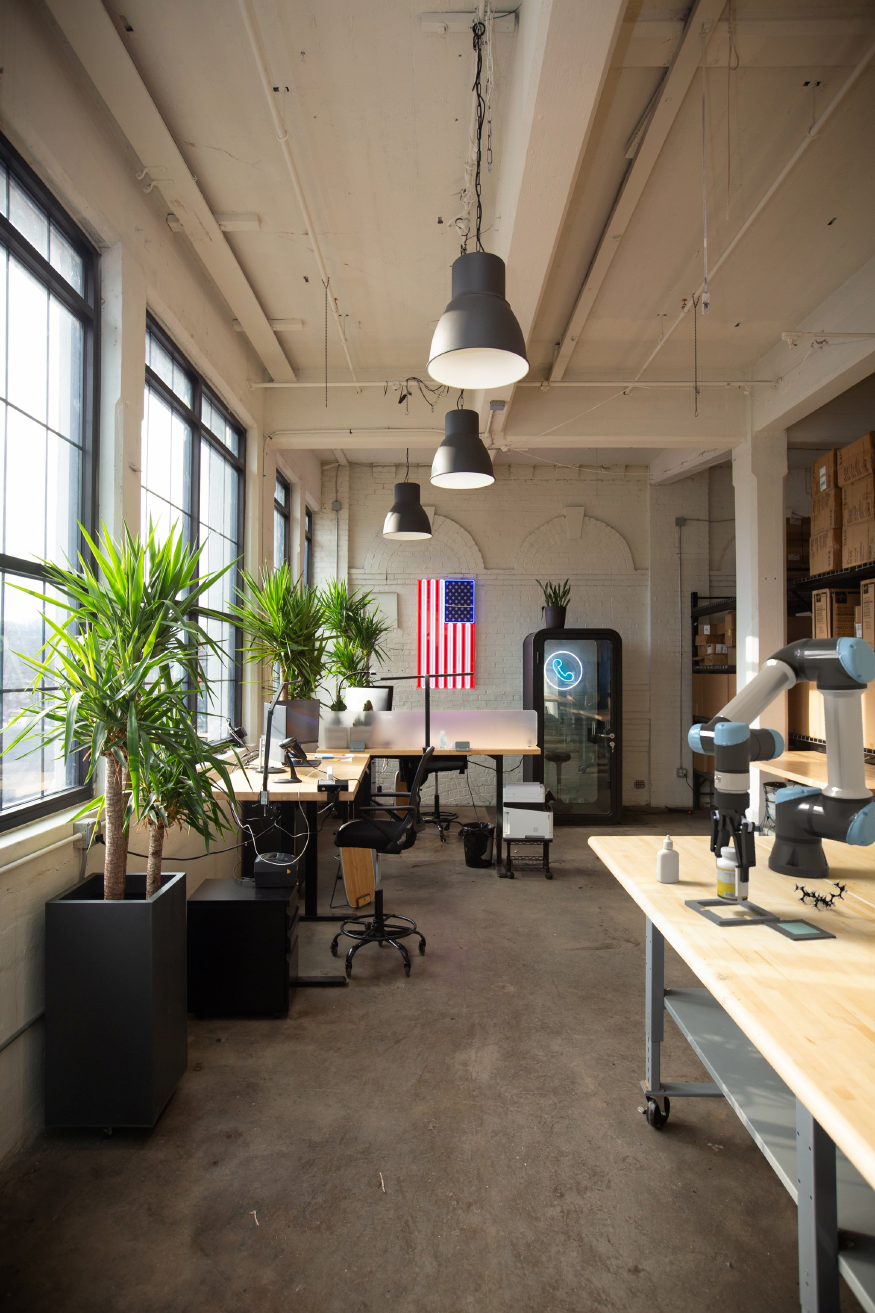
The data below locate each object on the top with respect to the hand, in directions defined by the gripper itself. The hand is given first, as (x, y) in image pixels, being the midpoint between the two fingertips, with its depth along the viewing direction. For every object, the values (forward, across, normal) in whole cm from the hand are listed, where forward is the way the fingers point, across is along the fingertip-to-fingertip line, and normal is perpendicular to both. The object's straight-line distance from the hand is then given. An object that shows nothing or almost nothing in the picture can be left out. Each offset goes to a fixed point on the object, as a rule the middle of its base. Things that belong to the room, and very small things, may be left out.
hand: (732, 890), depth 162 cm
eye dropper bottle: (+5, -24, -2) cm, 25 cm away
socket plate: (+5, 0, 0) cm, 5 cm away
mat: (+5, +12, +8) cm, 15 cm away
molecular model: (+6, 0, +23) cm, 24 cm away
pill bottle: (+2, 0, 0) cm, 2 cm away
